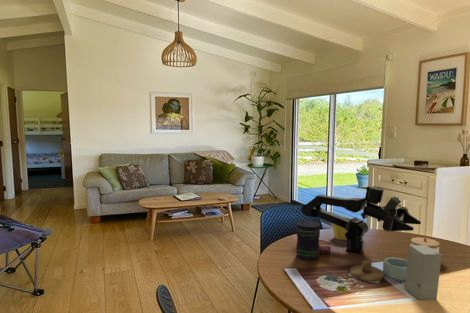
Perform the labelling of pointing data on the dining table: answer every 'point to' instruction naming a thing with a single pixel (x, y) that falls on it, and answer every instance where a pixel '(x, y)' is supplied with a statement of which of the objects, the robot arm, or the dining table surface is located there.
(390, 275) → the bowl
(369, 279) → the lid
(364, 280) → the grey flat square slab
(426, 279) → the skincare box
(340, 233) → the plant pot
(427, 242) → the lidded jar
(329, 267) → the dining table surface
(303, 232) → the storage jar
